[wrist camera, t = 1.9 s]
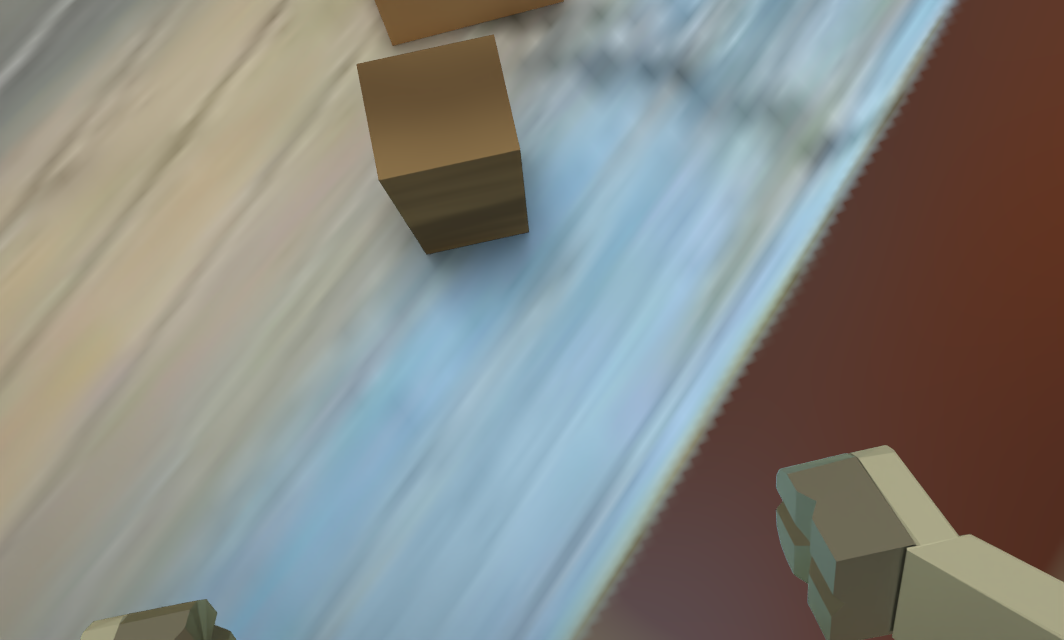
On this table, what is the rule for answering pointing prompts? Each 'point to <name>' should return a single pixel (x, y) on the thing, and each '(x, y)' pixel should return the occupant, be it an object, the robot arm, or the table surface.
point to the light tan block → (445, 15)
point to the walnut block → (447, 143)
